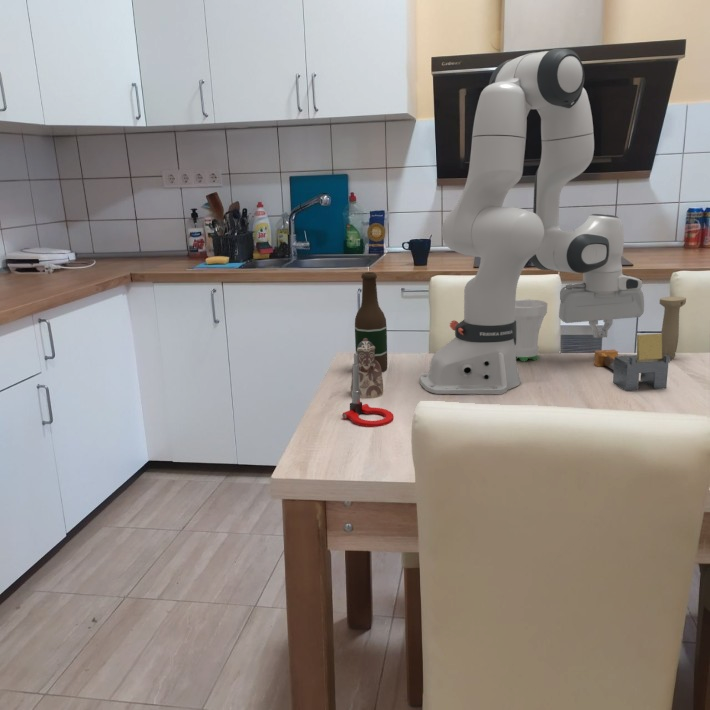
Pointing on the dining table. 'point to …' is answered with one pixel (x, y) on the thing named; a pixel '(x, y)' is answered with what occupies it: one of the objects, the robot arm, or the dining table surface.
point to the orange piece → (605, 358)
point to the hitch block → (629, 372)
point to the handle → (671, 324)
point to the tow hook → (358, 408)
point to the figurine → (368, 371)
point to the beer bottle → (371, 320)
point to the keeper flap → (649, 348)
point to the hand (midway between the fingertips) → (600, 337)
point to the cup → (528, 327)
